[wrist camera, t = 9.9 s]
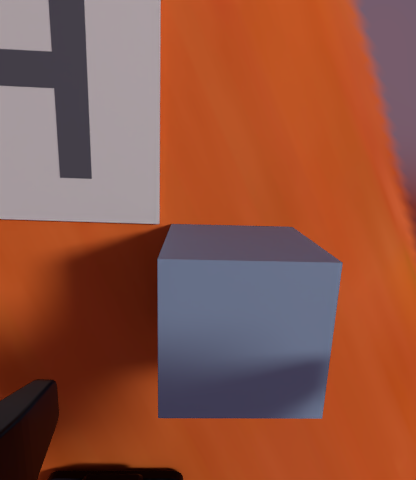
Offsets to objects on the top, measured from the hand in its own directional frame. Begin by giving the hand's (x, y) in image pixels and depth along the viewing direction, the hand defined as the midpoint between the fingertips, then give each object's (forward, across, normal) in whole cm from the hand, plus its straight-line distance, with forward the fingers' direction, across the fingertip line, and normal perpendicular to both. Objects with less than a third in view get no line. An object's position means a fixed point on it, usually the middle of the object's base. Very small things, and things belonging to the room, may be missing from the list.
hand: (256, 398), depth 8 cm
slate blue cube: (+7, 0, 0) cm, 7 cm away
